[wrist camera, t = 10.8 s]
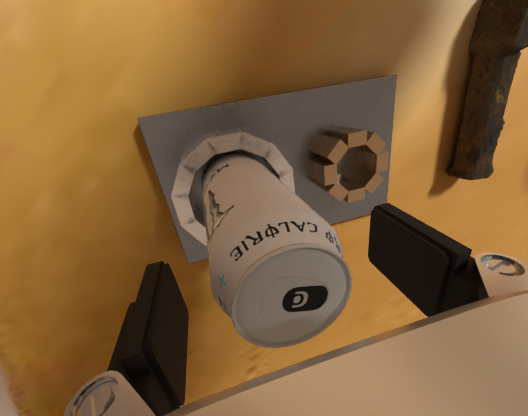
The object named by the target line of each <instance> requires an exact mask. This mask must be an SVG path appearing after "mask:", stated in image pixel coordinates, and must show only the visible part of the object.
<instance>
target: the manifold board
mask: <svg viewBox="0 0 528 416" xmlns="http://www.w3.org/2000/svg"><path fill="white" fill-rule="evenodd" d="M395 88H396V75H391V76H384V77H378V78H372V79H366V80H360V81H354V82H349V83H343V84H337V85H331V86H325V87H319V88H313V89H307V90H301V91H295V92H289V93H283V94H277V95H271V96H265V97H259V98H253V99H247V100H241V101H235V102H229V103H223V104H217V105H212V106H206V107H200V108H194V109H188V110H182V111H176V112H170V113H164V114H158V115H152V116H146V117H140V118H137V119H138V122H139V125H140V128H141V131H142V133H143V136H144V139H145V142H146V145H147V148H148V150H149V153H150V156H151V159H152V162H153V165H154V167H155V170H156V173H157V176H158V179H159V182H160V184H161V187H162V190H163V193H164V196H165V198H166V201H167V204H168V207H169V210H170V213H171V215H172V218H173V221H174V224H175V227H176V230H177V232H178V235H179V238H180V241H181V244H182V247H183V249H184V252H185V255H186V258H187V261H188V263H189V264H190V263H194V262H197V261H201V260H204V259H208V249H207V238H206V226H205V215H204V204H203V193H202V182H203V177H204V175H205V172H206V170H207V169H208V167H209V166H210V165H211V164H212V163H213V162H214V161H215V160H217V159H218V158H220V157H222V156H224V155H227V154H232V153H242V154H247V155H249V156H252V157H254V158H255V159H257V160H258V161H259V162H260V163H261V164H263V165H264V166H265V167H266V168H267V169H268V170H269V171H270V172H272V173H273V174H274V175H275V176H276V177H277V178H278V179H279V180H281V181H282V182H283V183H284V184H285V185H286V186H287V187H288V188H289V189H291V190H292V191H293V192H294V193H295V194H296V195H297V196H298V197H300V198H301V199H302V200H303V201H304V202H305V203H306V204H307V205H309V206H310V207H311V208H312V209H313V210H314V211H315V212H316V213H318V214H319V215H320V216H321V217H322V218H323V219H324V220H325V221H326V222H328V224H329V225H331V224H334V223H338V222H342V221H345V220H349V219H352V218H356V217H360V216H363V215H367V214H371V211H372V210H373V209H374V207H375V206H377V205H381V204H384V203H387V193H388V180H389V167H390V154H391V141H392V128H393V115H394V102H395Z"/></svg>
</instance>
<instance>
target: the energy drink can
mask: <svg viewBox="0 0 528 416" xmlns="http://www.w3.org/2000/svg"><path fill="white" fill-rule="evenodd" d="M202 193H203V204H204V215H205V226H206V238H207V249H208V260H209V271H210V282H211V290H212V293H213V296H214V299H215V301H216V302H217V304H218V305H219V307H220V308H221V309H222V310H223V311H224V312H225V313H226V314H227V315H228V316H229V317H230V318H232V322H233V325H234V327H235V329H236V330H237V332H238V333H239V334H240V335H241V336H242V337H243V338H244V339H245V340H246V341H248V342H250V343H252V344H254V345H258V346H261V347H267V348H281V347H288V346H292V345H296V344H299V343H302V342H305V341H307V340H309V339H311V338H313V337H315V336H316V335H318V334H319V333H321V332H322V331H324V330H325V329H326V328H327V327H328V326H330V325H331V324H332V323H333V322H334V321H335V320H336V318H337V317H338V316H339V315H340V314H341V312H342V310H343V309H344V307H345V306H346V304H347V301H348V299H349V297H350V292H351V288H352V278H351V273H350V269H349V267H348V266H347V264H346V262H345V261H344V260H343V253H342V248H341V244H340V239H339V238H338V236H337V234H336V232H335V230H334V229H333V228H332V227H331V226H330V225H329V224H328V222H326V221H325V220H324V219H323V218H322V217H321V216H320V215H319V214H318V213H316V212H315V211H314V210H313V209H312V208H311V207H310V206H309V205H307V204H306V203H305V202H304V201H303V200H302V199H301V198H300V197H298V196H297V195H296V194H295V193H294V192H293V191H292V190H291V189H289V188H288V187H287V186H286V185H285V184H284V183H283V182H282V181H281V180H279V179H278V178H277V177H276V176H275V175H274V174H273V173H272V172H270V171H269V170H268V169H267V168H266V167H265V166H264V165H263V164H261V163H260V162H259V161H258V160H257V159H255V158H254V157H252V156H249V155H247V154H242V153H232V154H227V155H224V156H222V157H220V158H218V159H217V160H215V161H214V162H213V163H212V164H211V165H210V166H209V167H208V169H207V170H206V172H205V175H204V177H203V182H202Z"/></svg>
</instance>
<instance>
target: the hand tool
mask: <svg viewBox="0 0 528 416" xmlns="http://www.w3.org/2000/svg"><path fill="white" fill-rule="evenodd" d="M526 47H528V0H484V1H483V4H482V6H481V9H480V11H479V13H478V19H477V22H476V25H475V29H474V33H473V36H472V39H471V42H470V45H469V52H470V53H471V54H473V66H472V70H471V76H470V80H469V84H468V89H467V92H466V95H465V106H464V111H463V116H462V121H461V125H460V130H459V136H458V140H457V145H456V150H455V157H454V161H453V165H452V167H451V168H449V169H447V170H446V172H447V174H448V175H450V176H454V177H457V178H461V179H467V180H476V179H482V178H488V177H489V176H490V175H491V174H492V173H493V165H492V159H493V154H494V152H495V149H496V146H497V141H498V138H499V136H500V132H501V130H502V129H503V125H504V123H505V122H504V120H503V116H504V112H505V107H506V104H507V99H508V95H509V91H510V87H511V84H512V80H513V77H514V73H515V69H516V67H517V63H518V59H519V57H520V55H521V52H520V50H522V49H524V48H526Z"/></svg>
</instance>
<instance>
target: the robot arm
mask: <svg viewBox="0 0 528 416" xmlns="http://www.w3.org/2000/svg"><path fill="white" fill-rule="evenodd" d="M471 251H472V250H471V249H470V248H468V247H466V246H464V245H462V244H461V243H459V242H457V241H455V240H453V239H452V238H450V237H448V236H446V235H445V234H443V233H441V232H439V231H437V230H436V229H434V228H432V227H430V226H429V225H427V224H425V223H423V222H421V221H420V220H418V219H416V218H414V217H413V216H411V215H409V214H407V213H405V212H404V211H402V210H400V209H398V208H397V207H395V206H393V205H391V204H389V203H384V204H381V205H377V206H375V207H374V209H373V210H372V211H371V219H370V235H369V250H368V257H369V260H370V262H371V263H372V264H373V265H374V266H375V267H376V268H377V269H378V270H379V271H380V272H381V273H382V274H384V275H385V276H386V277H387V278H388V279H389V280H390V281H391V282H392V283H393V284H394V285H395V286H396V287H397V288H398V289H399V290H400V291H401V292H402V293H403V294H404V295H405V296H406V297H407V298H408V299H409V300H410V301H412V302H413V303H414V304H415V305H416V306H417V307H418V308H419V309H420V310H421V311H422V312H423V313H424V314H425V315H426V316H428V318H425V319H422V320H419V321H416V322H413V323H410V324H407V325H405V326H402V327H399V328H396V329H393V330H390V331H387V332H384V333H382V334H379V335H376V336H373V337H370V338H367V339H364V340H362V341H359V342H356V343H353V344H350V345H347V346H345V347H342V348H339V349H336V350H333V351H330V352H328V353H325V354H322V355H319V356H316V357H313V358H311V359H308V360H305V361H302V362H300V363H297V364H294V365H291V366H288V367H286V368H283V369H280V370H277V371H274V372H272V373H269V374H266V375H263V376H260V377H258V378H255V379H252V380H249V381H247V382H244V383H241V384H239V385H236V386H233V387H231V388H228V389H225V390H223V391H220V392H218V393H215V394H212V395H210V396H207V397H204V398H202V399H199V400H197V401H195V402H192V403H190V404H188V405H185V406H183V407H181V408H179V406H181V405H183V404H184V401H185V383H186V362H187V340H188V318H189V316H188V310H187V307H186V304H185V302H184V299H183V297H182V295H181V292H180V290H179V287H178V285H177V282H176V280H175V277H174V275H173V272H172V270H171V268H170V265H169V264H168V263H166V264H164V263H163V261H160V262H156V263H152V264H149V265H147V267H146V270H145V273H144V276H143V279H142V283H141V286H140V289H139V292H138V296H137V299H136V302H133V303H131V304H130V305H129V308H128V310H127V313H126V316H125V319H124V322H123V325H122V328H121V331H120V334H119V337H118V340H117V343H116V346H115V349H114V352H113V355H112V358H111V361H110V364H109V367H108V370H107V372H103V373H101V374H99V375H97V376H95V377H93V378H92V379H90V380H89V381H88V382H86V383H85V384H84V385H83V386H82V387H81V388H80V389H79V390H78V391H77V392H76V393H75V395H74V396H73V397H72V399H71V400H70V402H69V404H68V406H67V408H66V410H65V412H64V416H528V266H527V265H526V264H525V263H523V262H522V261H520V260H518V259H516V258H514V257H512V256H509V255H505V254H501V253H496V252H483V253H480V254H477V256H476V257H475V259H474V258H473V257H471V256H470V254H471Z"/></svg>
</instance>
